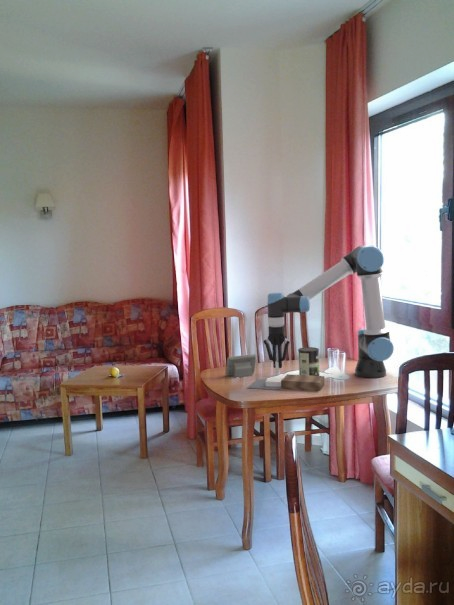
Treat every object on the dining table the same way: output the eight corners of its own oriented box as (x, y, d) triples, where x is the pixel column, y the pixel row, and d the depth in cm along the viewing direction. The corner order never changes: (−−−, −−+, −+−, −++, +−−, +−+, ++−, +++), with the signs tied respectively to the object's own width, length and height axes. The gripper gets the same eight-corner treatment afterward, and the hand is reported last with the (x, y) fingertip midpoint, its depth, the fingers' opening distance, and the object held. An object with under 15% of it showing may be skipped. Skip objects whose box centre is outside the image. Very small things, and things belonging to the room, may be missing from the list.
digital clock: (255, 372, 280) (254, 352, 279) (258, 376, 271) (257, 355, 270) (225, 374, 278) (224, 354, 277) (227, 378, 270) (226, 358, 268)
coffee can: (319, 374, 270) (319, 347, 268) (319, 379, 260) (318, 351, 258) (299, 374, 272) (298, 347, 271) (298, 379, 262) (297, 351, 261)
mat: (288, 381, 259) (288, 380, 259) (280, 390, 244) (280, 389, 244) (257, 379, 264) (257, 378, 264) (247, 388, 249) (247, 387, 249)
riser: (324, 384, 250) (324, 376, 250) (319, 391, 239) (319, 382, 239) (287, 382, 257) (287, 374, 256) (281, 389, 246) (281, 380, 245)
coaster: (285, 382, 255) (285, 377, 255) (282, 386, 248) (282, 382, 247) (269, 381, 258) (269, 377, 257) (265, 386, 250) (265, 381, 250)
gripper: (291, 324, 250) (293, 373, 253) (265, 324, 255) (267, 372, 257) (288, 327, 243) (289, 377, 246) (260, 326, 248) (262, 375, 250)
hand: (278, 374), depth 252 cm, fingers closed
